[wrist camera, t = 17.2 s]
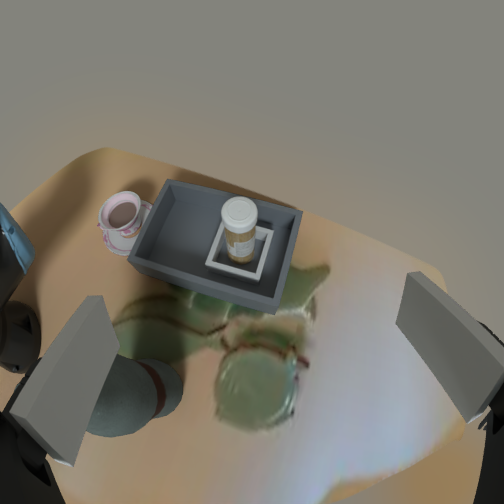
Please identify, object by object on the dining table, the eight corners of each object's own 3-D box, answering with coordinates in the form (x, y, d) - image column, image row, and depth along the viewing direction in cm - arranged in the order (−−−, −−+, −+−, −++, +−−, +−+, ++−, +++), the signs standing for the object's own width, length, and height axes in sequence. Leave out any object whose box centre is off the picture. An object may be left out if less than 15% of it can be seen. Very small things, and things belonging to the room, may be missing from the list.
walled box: (139, 272, 46) (126, 259, 40) (174, 197, 52) (167, 178, 46) (274, 315, 43) (278, 307, 38) (297, 228, 50) (302, 211, 44)
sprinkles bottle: (225, 242, 47) (218, 197, 35) (252, 238, 47) (254, 192, 35) (229, 268, 45) (223, 229, 33) (257, 263, 46) (261, 223, 33)
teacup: (148, 191, 53) (139, 172, 47) (169, 237, 49) (160, 220, 43) (98, 219, 50) (84, 202, 44) (113, 267, 46) (98, 254, 40)
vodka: (189, 364, 40) (84, 352, 12) (184, 418, 36) (82, 490, 9) (134, 354, 40) (-7, 319, 13) (129, 407, 36) (-11, 432, 9)
